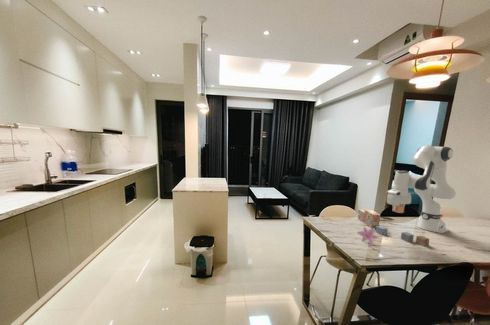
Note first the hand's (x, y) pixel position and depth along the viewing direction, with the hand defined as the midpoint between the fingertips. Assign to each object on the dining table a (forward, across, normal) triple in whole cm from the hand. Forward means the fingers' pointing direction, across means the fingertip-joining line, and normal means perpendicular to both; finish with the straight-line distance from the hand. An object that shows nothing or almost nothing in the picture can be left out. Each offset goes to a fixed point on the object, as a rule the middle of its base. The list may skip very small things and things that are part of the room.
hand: (398, 209), depth 151 cm
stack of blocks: (+22, -1, -26) cm, 34 cm away
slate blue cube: (+22, +5, -7) cm, 23 cm away
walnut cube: (+22, -9, +13) cm, 27 cm away
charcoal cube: (+22, -4, +6) cm, 23 cm away
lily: (+22, +29, +2) cm, 36 cm away
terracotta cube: (+2, 0, 0) cm, 2 cm away
